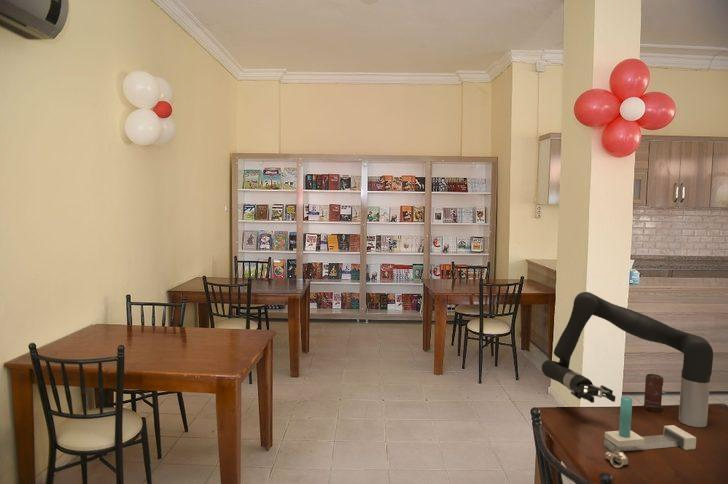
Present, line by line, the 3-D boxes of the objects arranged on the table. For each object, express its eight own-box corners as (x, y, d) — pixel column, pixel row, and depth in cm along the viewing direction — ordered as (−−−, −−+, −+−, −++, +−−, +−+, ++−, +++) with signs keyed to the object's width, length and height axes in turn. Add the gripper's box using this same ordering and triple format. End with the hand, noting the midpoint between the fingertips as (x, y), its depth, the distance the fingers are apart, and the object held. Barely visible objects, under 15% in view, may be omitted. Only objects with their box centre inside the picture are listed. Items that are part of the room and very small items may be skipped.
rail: (667, 439, 183) (667, 434, 183) (678, 446, 178) (678, 440, 178) (603, 445, 178) (603, 439, 178) (613, 452, 173) (613, 446, 173)
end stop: (672, 435, 186) (673, 425, 186) (695, 448, 177) (696, 437, 176) (661, 436, 185) (662, 425, 185) (684, 449, 176) (684, 438, 175)
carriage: (629, 435, 181) (632, 393, 180) (644, 444, 174) (646, 401, 173) (604, 437, 179) (606, 395, 178) (618, 446, 172) (620, 403, 171)
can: (663, 412, 207) (666, 379, 206) (646, 411, 208) (648, 377, 207) (658, 407, 213) (660, 374, 211) (641, 405, 214) (643, 372, 213)
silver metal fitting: (608, 454, 172) (608, 444, 172) (630, 461, 168) (631, 451, 167) (601, 464, 166) (601, 453, 166) (624, 471, 161) (625, 460, 161)
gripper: (561, 375, 201) (587, 390, 185) (594, 373, 204) (622, 388, 188) (560, 393, 202) (585, 410, 186) (593, 392, 204) (620, 408, 189)
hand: (604, 399), depth 187 cm, fingers open, 8 cm apart
